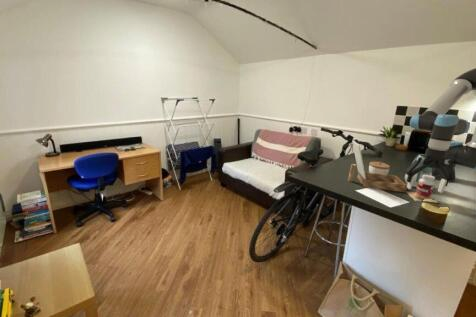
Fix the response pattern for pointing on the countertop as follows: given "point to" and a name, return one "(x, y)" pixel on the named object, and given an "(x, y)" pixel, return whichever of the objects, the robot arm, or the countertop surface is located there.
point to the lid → (359, 159)
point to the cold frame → (379, 181)
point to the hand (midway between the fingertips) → (424, 190)
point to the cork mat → (412, 194)
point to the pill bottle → (425, 187)
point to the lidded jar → (378, 168)
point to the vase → (419, 173)
